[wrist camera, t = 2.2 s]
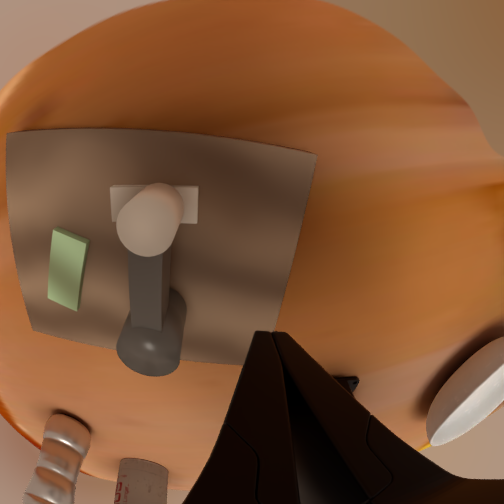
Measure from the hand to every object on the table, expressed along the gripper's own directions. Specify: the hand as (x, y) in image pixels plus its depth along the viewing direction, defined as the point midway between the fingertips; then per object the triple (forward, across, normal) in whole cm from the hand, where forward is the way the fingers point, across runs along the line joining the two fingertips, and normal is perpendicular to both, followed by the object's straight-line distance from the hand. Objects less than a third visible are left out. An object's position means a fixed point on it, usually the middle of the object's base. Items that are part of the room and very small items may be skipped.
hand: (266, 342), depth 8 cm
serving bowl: (+12, -38, +19) cm, 44 cm away
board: (+12, +6, +4) cm, 14 cm away
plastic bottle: (+12, +18, +30) cm, 38 cm away
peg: (+10, +4, +3) cm, 11 cm away
